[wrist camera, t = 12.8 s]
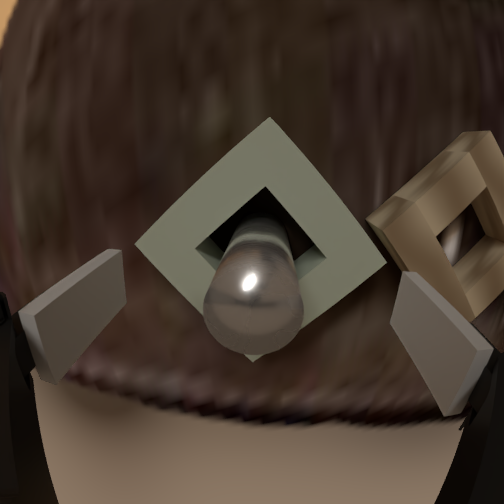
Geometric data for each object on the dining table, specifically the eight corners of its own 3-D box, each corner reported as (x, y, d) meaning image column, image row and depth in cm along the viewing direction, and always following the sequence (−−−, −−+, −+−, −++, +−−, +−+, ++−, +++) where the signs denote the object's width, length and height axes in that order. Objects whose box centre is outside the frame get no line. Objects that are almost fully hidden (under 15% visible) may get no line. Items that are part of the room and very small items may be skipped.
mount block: (462, 132, 20) (490, 130, 16) (512, 238, 22) (537, 250, 18) (365, 218, 23) (382, 230, 19) (430, 318, 25) (449, 340, 21)
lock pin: (263, 201, 23) (257, 244, 11) (298, 240, 23) (323, 317, 12) (223, 235, 24) (182, 307, 12) (258, 273, 24) (249, 369, 13)
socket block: (269, 124, 21) (269, 116, 17) (369, 246, 23) (386, 262, 19) (154, 230, 24) (134, 244, 20) (254, 334, 26) (252, 362, 22)
